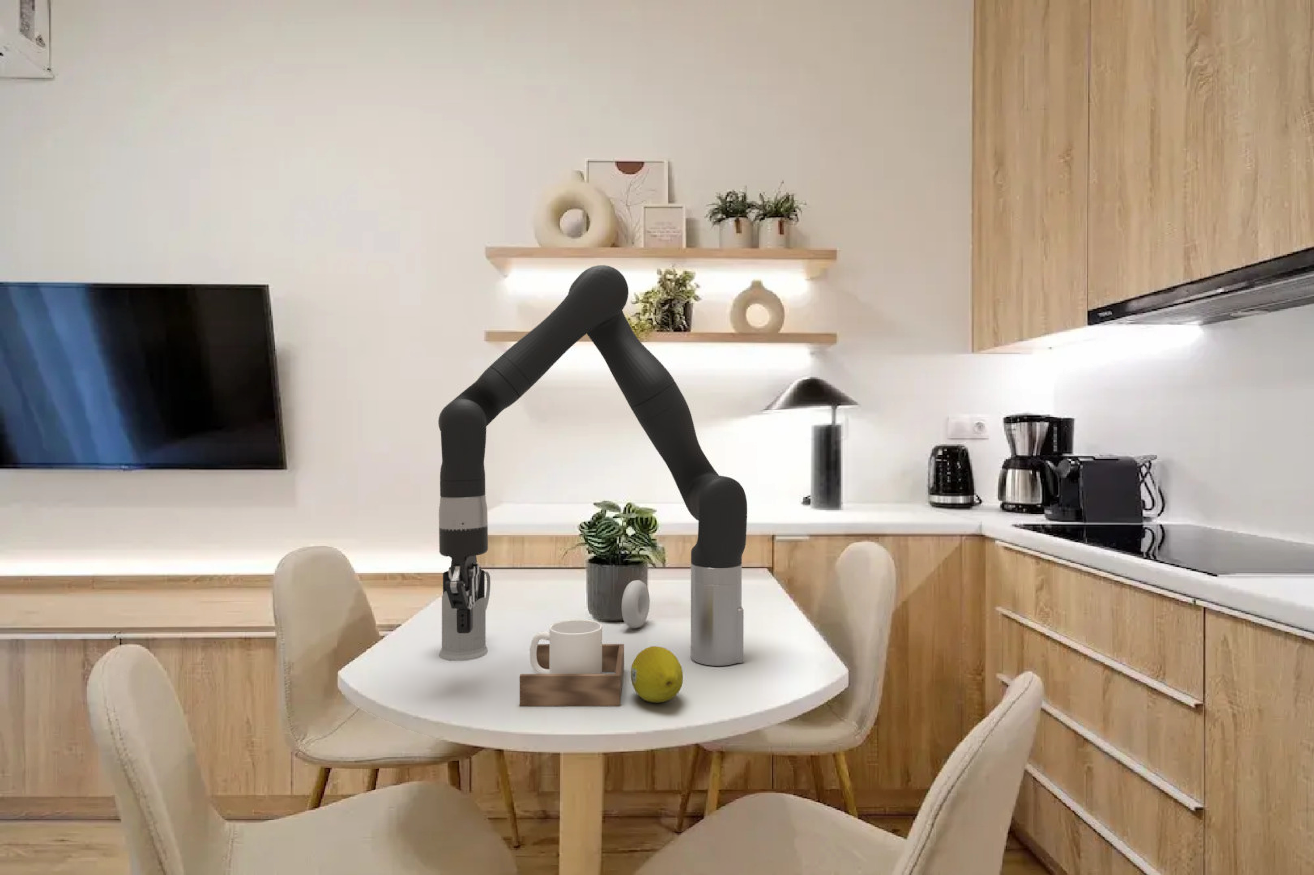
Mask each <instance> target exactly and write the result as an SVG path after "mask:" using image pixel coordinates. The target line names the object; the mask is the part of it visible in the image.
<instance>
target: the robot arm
mask: <svg viewBox="0 0 1314 875" xmlns="http://www.w3.org/2000/svg"><path fill="white" fill-rule="evenodd" d="M628 299H629V286H628V282H627V280H626V277H625V276H624V275H623V273H622V272H620V271H619V270H618V269H616V268H615V267H612V266H610V265H605V264H601V265H599V264H598V265H594V266H591V267H589V268H587V269H585V270H584V271H583V272H581V273H580V274H579V275H578V276H577V278H576V279H574V281H573V282H572V283H571V285H570V287H569V290H568V293H567V295H566V296H565V298H564V299H563V300H562V302H561V303H560V304H558V305H557V307H556V308H555V309H554V310H553V311H552V312H550V314H549V315H548V316H546V318H544V320H542V321H541V322H540V323H539V324H537V325H535V327H533V328H532V330H530V331H529V332H527V333H526V334H525V335H524V336H523V337H522V338H520V339H519V340H518V341H517V342H516V343H514V344H513V345H512V346H510V347H509V348H508V349H507V350H506V351H505V352H504V353H502V354H501V356H499V357H498V358H497V359H496V360H495V361H494V362H493V363H492V364H491V365H489V367H487V368H486V369H485V370H484V371H483V372H482V374H481V375H480V376H479V377H478V379H477V380H476V381H474V382H473V383H472V384H471V385H470V386H468V387H467V388H466V389H465V390H463V391H462V392H461V393H460V394H459V395H457V396H456V397H455V398H454V399H452V401H450V402H449V403H448V404H446V406H444V407H443V409H442V410H441V412H440V413H439V416H438V421H437V422H438V427H439V431H440V443H441V444H440V446H441V466H440V474H439V496H440V497H439V507H438V536H439V537H438V542H439V549H438V550H439V551H438V552H439V554H440V555H441V556H442V557H443V556H444V557H449V558H450V559H451V561H450V567H448V571H449V578H450V581H446V583H445V588H446V591H447V594H448V598H449V601H450V604H451V608H452V609H455V610H457V632H458V633H470V632H471V630H472V629H473V608H472V607H474V605H475V600H477V597H478V596H477V595H478V589H479V582H480V576H481V571H482V570H483V569H482V567H481V566H480V564H479V563H477V562H478V559H477V556H480V555H484V554H486V553H487V552H488V549H489V538H488V536H489V534H488V533H489V531H488V525H489V524H488V505H487V498H486V497H487V496H486V470H485V458H486V457H485V455H486V446H487V445H486V443H487V427H488V425H489V424H491V423H492V422H493V420H495V419H496V418H497V417H498V416H499V414H501V412H503V411H504V410H506V409H507V408H509V407H510V406H512V405H514V403H516V402H517V401H518V400H519V399H520V398H522V397H523V395H525V394H526V393H527V392H528V390H530V389H531V388H532V387H533V386H534V385H535V384H536V383H538V381H539V380H540V379H542V377H543V376H544V375H545V374H546V373H547V372H548V371H549V370H550V369H551V368H552V367H553V366H554V365H555V363H557V362H558V361H559V359H561V358H562V356H563V355H565V353H567V351H568V350H569V349H571V347H572V346H574V345H575V344H576V343H577V342H578V341H580V340H581V339H582V338H583V337H584V336H586V335H587V337H589V339H590V340H591V342H592V343H593V345H594V346H595V347H596V349H597V350H598V351H599V353H600V355H601V357H602V358H603V359H604V361H605V363H606V364H607V367H608V369H609V371H610V373H611V375H612V377H613V378H614V380H615V382H616V384H617V386H618V387H619V389H620V391H621V393H622V395H623V396H624V398H625V400H626V402H627V404H628V406H629V407H630V409H631V411H632V412H633V415H634V416H635V418H636V419H637V421H638V423H639V424H640V426H641V428H642V429H643V430H644V432H645V434H646V436H647V437H648V439H649V440H650V441H651V444H652V445H653V446H654V447H653V448H655V450H656V451H657V452H658V454H659V455H660V457H661V458H662V460H663V461H664V463H665V465H666V466H667V468H668V470H669V472H670V475H671V476H672V478H673V480H674V482H675V485H676V487H677V489H678V491H679V493H680V495H681V498H682V500H683V503H684V505H685V506H686V508H687V511H688V512H689V513H690V514H689V515H691V516H692V517H693V518H694V519H695V520H696V521H698V522H697V523H698V528H697V540H696V544H695V545H694V546H692V548H691V550H690V658H691V660H692V661H693V662H695V663H698V664H702V665H706V666H718V667H719V666H720V667H721V666H722V667H724V666H730V665H734V664H735V665H736V664H743V663H744V632H745V631H744V629H745V628H744V626H745V625H744V619H745V618H744V609H743V606H742V604H743V603H742V602H743V601H742V592H743V591H742V590H743V586H742V578H743V576H742V574H743V572H742V571H743V570H742V567H743V566H742V565H743V563H742V562H743V561H742V560H743V559H742V558H743V554H744V551H745V548H746V544H747V529H748V528H747V524H748V501H747V495H746V493H745V489H744V487H743V486H742V485H741V483H740V482H739V481H738V480H736V479H734V478H732V477H728V476H724V475H720V474H719V473H718V472H717V471H716V469H714V467H713V465H712V464H711V463H710V460H708V457H707V456H706V455H705V453H704V451H703V450H702V447H701V445H700V443H699V440H698V438H697V434H696V430H695V429H696V428H695V424H694V420H693V416H692V413H691V410H690V408H689V404H688V402H687V400H686V399H685V396H684V395H683V393H682V391H681V390H680V388H679V385H678V384H677V382H676V381H675V379H674V378H673V376H672V374H671V373H670V372H669V371H668V369H667V368H666V367H665V366H664V364H662V362H661V361H660V360H659V359H658V358H657V357H656V356H655V355H654V354H653V353H652V352H651V351H650V350H649V349H648V348H647V347H646V346H645V345H644V344H643V343H642V342H641V340H639V338H638V337H637V335H636V334H635V332H634V331H633V329H632V327H631V325H630V323H629V321H628V319H627V318H626V316H625V313H624V311H623V310H624V309H625V306H626V305H627V303H628Z"/></svg>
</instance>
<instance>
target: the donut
mask: <svg viewBox="0 0 1314 875" xmlns="http://www.w3.org/2000/svg"><path fill="white" fill-rule="evenodd" d="M650 600H651V599H650V591H649V589H648V587H647V585H646V583H644V581H642V580H640V579H638V580H637V579H636V580H632V581H630V582H629V583H628V584H627V585H626V587H625V588H624V591H623V593H622V599H621V615H622V619H623V623H625V625H626V626H627V627H628V628H630V629H638V628H641V627H642V626H643V625H644V624H645V623H646V621H647V618H648V615H649V612H650V604H651V603H650Z"/></svg>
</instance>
